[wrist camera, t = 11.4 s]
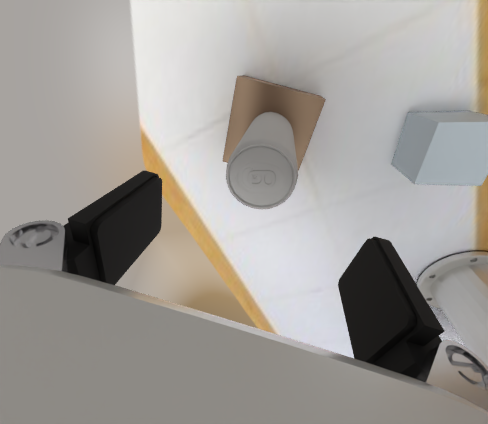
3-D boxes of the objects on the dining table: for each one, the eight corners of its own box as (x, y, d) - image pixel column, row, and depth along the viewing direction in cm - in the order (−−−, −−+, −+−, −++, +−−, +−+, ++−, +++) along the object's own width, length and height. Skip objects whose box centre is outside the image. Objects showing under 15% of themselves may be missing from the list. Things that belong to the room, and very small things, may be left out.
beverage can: (247, 111, 23) (220, 141, 13) (294, 109, 23) (302, 141, 13) (249, 156, 26) (227, 209, 16) (291, 156, 25) (295, 212, 15)
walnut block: (320, 95, 25) (325, 99, 22) (293, 168, 30) (294, 180, 27) (243, 75, 25) (237, 76, 22) (229, 151, 30) (222, 161, 27)
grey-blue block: (469, 110, 24) (518, 121, 19) (444, 164, 27) (481, 185, 22) (407, 112, 25) (438, 122, 20) (391, 164, 28) (414, 184, 23)
